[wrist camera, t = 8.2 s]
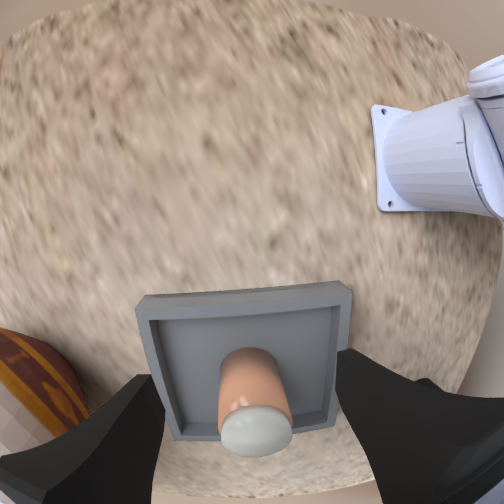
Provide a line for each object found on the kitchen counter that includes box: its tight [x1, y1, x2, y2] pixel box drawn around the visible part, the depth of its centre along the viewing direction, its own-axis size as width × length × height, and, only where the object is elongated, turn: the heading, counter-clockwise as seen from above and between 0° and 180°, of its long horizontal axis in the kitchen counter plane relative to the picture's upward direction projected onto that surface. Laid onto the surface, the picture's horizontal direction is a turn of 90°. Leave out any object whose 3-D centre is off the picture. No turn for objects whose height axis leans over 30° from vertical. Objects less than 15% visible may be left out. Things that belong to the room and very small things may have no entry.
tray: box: [135, 281, 352, 441], centre depth 19 cm, size 14×13×2 cm
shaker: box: [218, 347, 293, 457], centre depth 16 cm, size 4×4×7 cm
